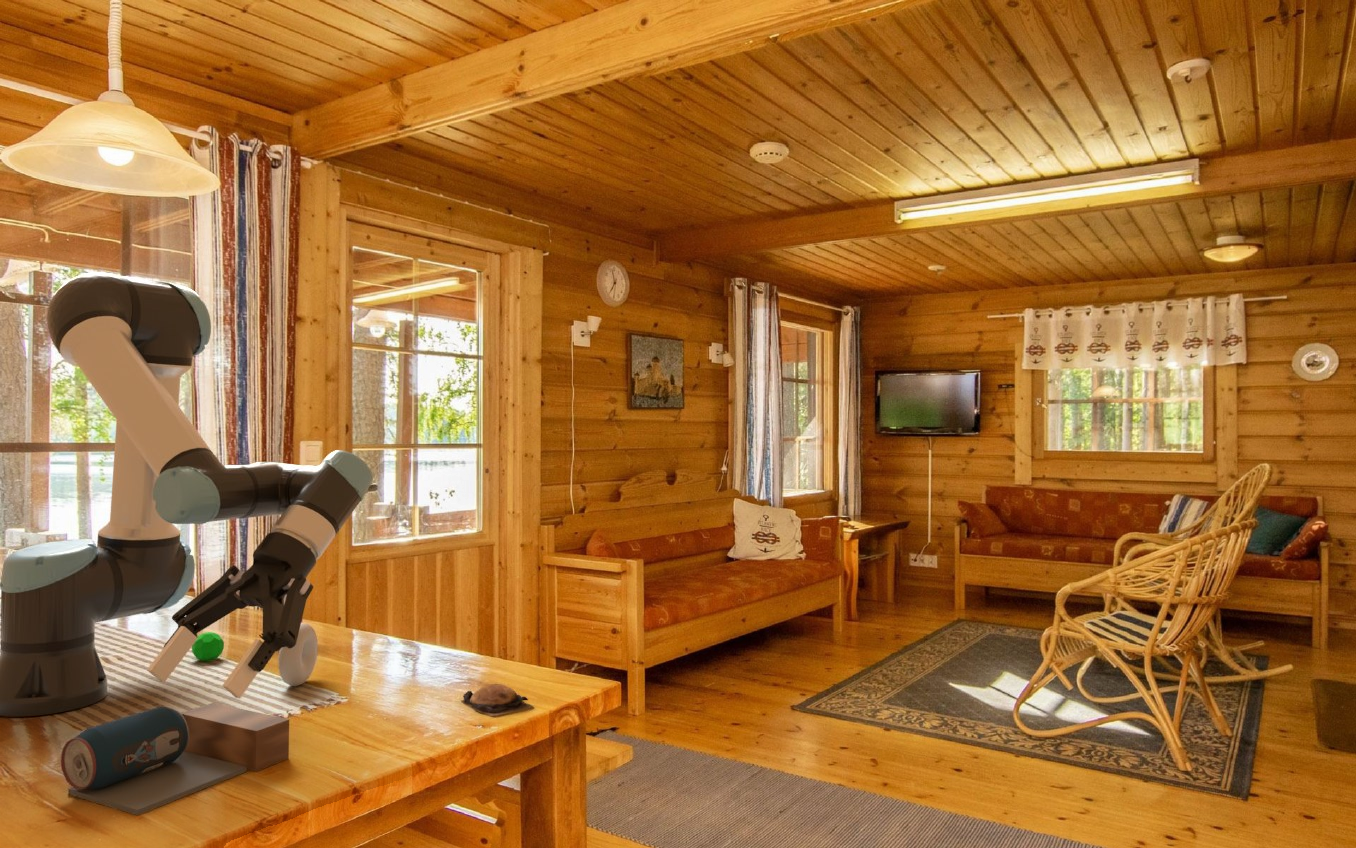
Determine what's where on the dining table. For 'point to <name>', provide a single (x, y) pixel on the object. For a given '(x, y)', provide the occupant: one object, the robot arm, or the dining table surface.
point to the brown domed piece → (496, 701)
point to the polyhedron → (208, 646)
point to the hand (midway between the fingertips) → (192, 684)
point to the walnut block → (237, 736)
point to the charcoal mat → (162, 784)
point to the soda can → (124, 748)
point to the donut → (299, 657)
